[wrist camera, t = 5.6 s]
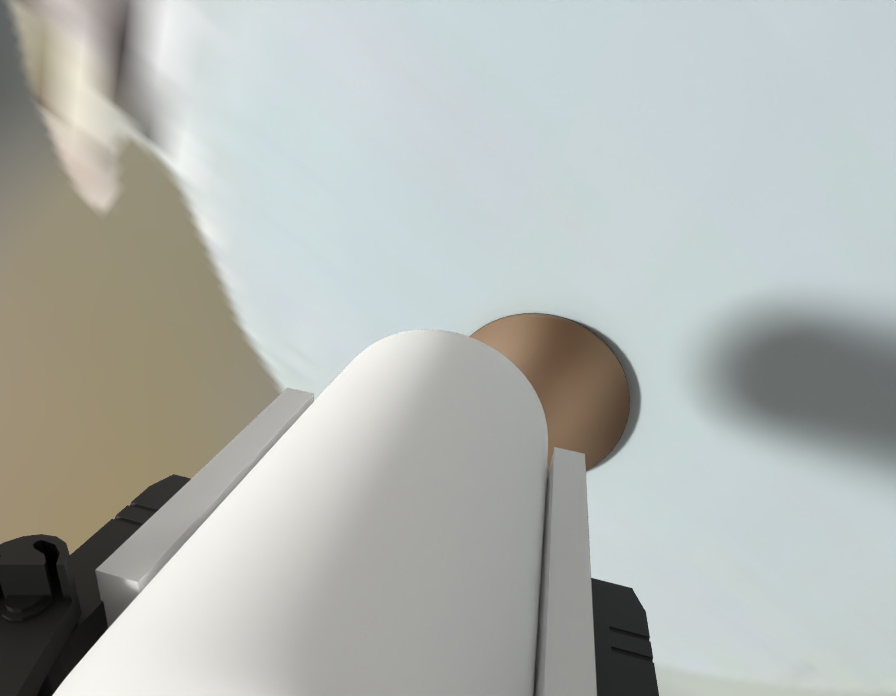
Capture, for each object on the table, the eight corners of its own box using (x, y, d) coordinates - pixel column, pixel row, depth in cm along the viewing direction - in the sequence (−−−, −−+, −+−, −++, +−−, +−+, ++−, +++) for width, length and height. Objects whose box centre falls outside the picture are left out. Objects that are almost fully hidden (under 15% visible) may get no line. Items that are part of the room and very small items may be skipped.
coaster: (648, 329, 27) (649, 333, 27) (607, 489, 31) (608, 496, 31) (453, 300, 29) (451, 303, 28) (438, 456, 33) (436, 461, 32)
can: (312, 337, 16) (-230, 794, 5) (531, 308, 14) (414, 894, 3) (367, 516, 18) (70, 1100, 7) (563, 508, 16) (552, 1254, 6)
